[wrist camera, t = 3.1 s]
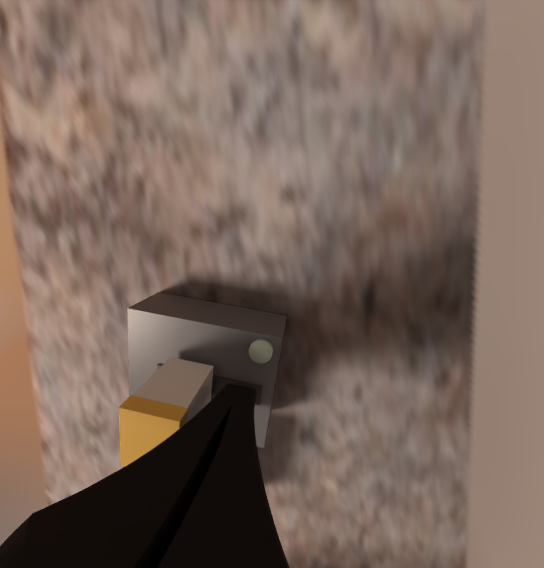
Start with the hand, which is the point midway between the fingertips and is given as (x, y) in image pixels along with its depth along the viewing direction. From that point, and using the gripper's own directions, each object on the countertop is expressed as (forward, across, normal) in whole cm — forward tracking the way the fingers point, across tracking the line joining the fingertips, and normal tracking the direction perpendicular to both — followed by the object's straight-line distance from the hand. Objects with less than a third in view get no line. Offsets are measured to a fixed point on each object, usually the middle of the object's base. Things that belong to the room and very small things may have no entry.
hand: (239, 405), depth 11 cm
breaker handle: (+1, +2, 0) cm, 2 cm away
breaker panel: (+3, +2, 0) cm, 4 cm away
